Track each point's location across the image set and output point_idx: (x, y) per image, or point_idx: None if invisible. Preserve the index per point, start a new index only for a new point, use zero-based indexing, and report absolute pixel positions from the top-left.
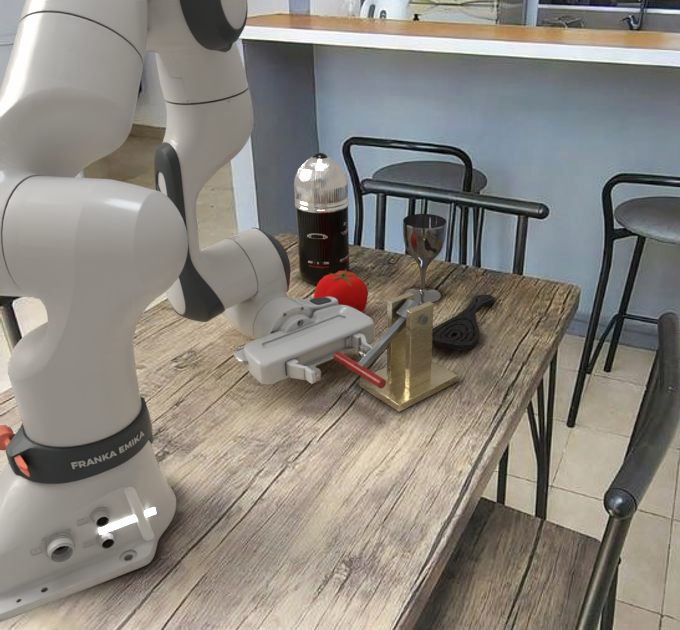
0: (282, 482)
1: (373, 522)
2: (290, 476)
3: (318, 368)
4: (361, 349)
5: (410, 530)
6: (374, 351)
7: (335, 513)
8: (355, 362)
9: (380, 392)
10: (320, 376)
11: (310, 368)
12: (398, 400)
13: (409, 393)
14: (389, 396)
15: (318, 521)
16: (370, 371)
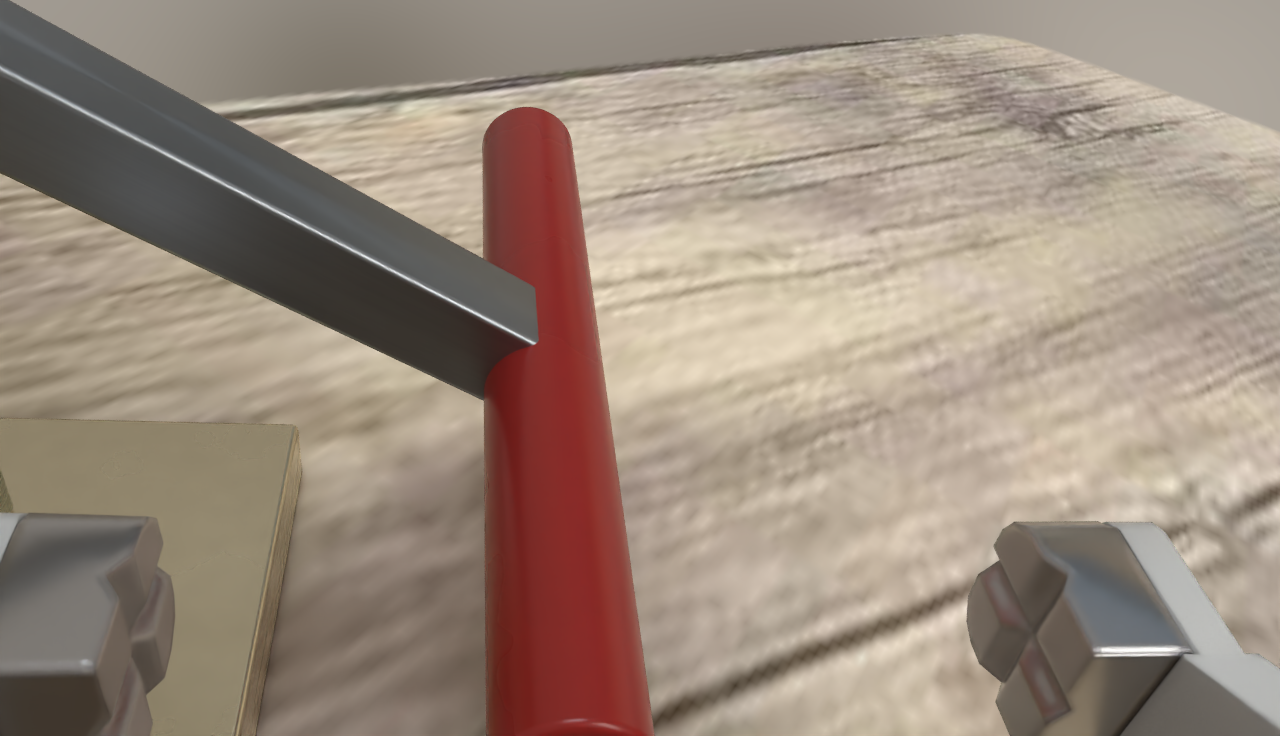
0: (1260, 444)
1: (919, 156)
2: (1214, 451)
3: (1039, 547)
4: (122, 626)
5: (818, 96)
6: (301, 172)
7: (1041, 232)
8: (540, 366)
9: (251, 624)
10: (994, 565)
11: (1155, 603)
12: (246, 459)
13: (81, 471)
14: (246, 538)
15: (1116, 242)
16: (525, 202)
